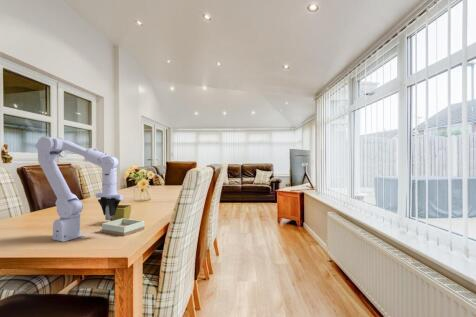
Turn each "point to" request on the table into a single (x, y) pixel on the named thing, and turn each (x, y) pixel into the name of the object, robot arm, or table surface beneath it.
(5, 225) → the table surface
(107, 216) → the peg
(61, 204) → the robot arm
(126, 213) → the flower pot
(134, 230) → the box
